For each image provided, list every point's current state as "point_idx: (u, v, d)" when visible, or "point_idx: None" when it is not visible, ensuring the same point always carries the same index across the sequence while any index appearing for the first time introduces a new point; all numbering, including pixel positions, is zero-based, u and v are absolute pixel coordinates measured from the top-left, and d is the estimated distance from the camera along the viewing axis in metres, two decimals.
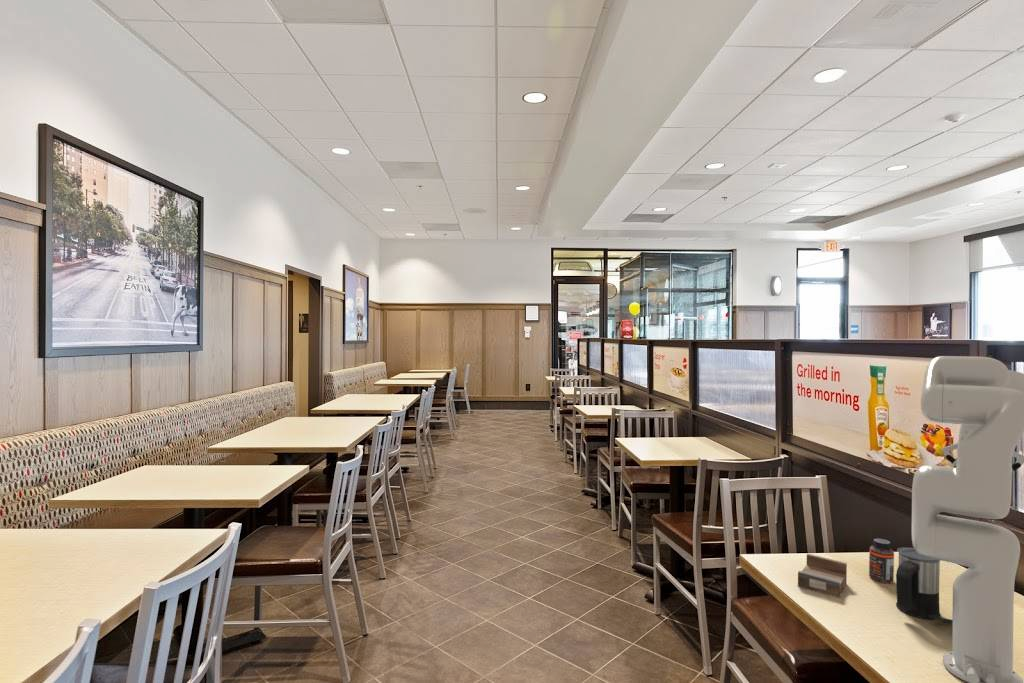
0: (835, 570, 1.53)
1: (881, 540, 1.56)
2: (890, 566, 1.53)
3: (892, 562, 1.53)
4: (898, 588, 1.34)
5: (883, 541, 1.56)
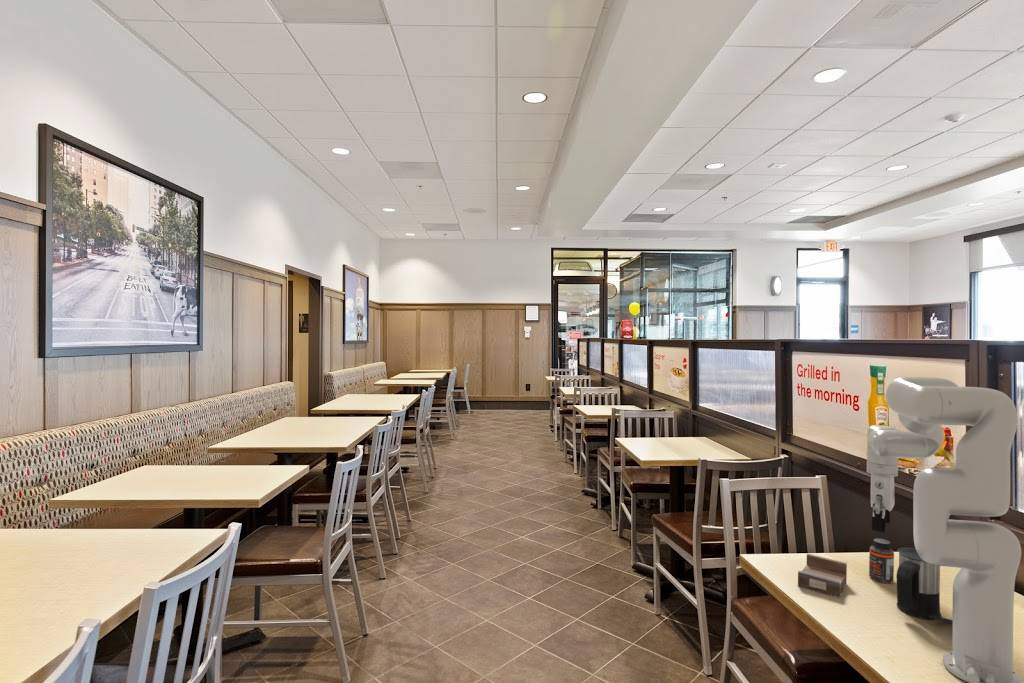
0: (835, 570, 1.53)
1: (881, 540, 1.56)
2: (890, 566, 1.53)
3: (892, 562, 1.53)
4: (898, 588, 1.34)
5: (883, 541, 1.56)
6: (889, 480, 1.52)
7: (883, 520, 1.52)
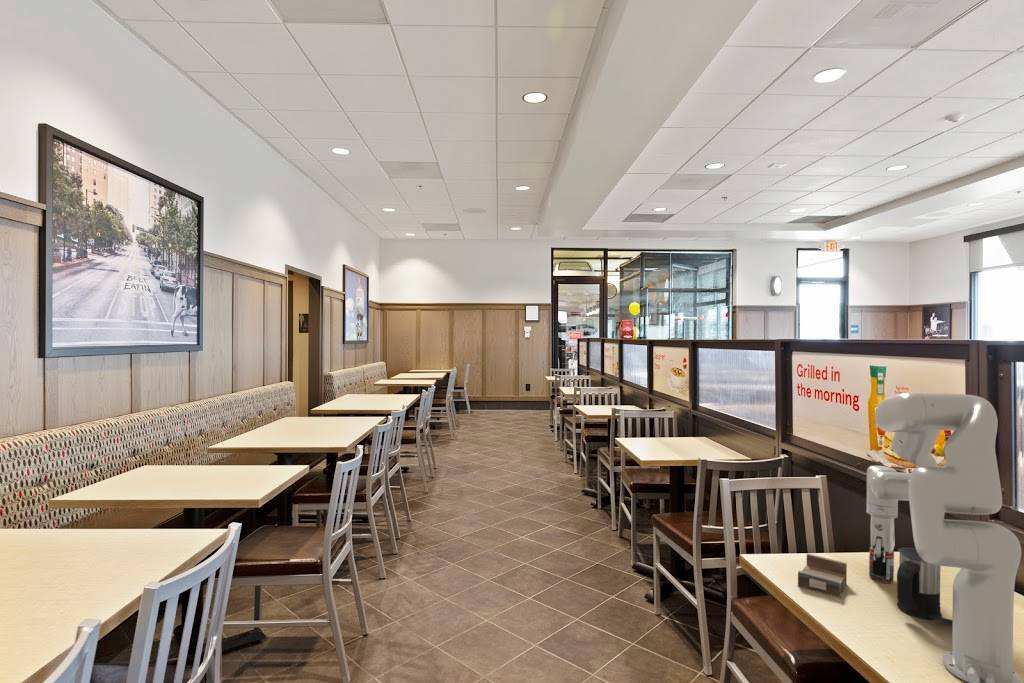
0: (835, 570, 1.53)
1: None
2: (890, 566, 1.53)
3: (892, 562, 1.53)
4: (899, 588, 1.34)
5: None
6: (889, 522, 1.51)
7: (884, 564, 1.52)
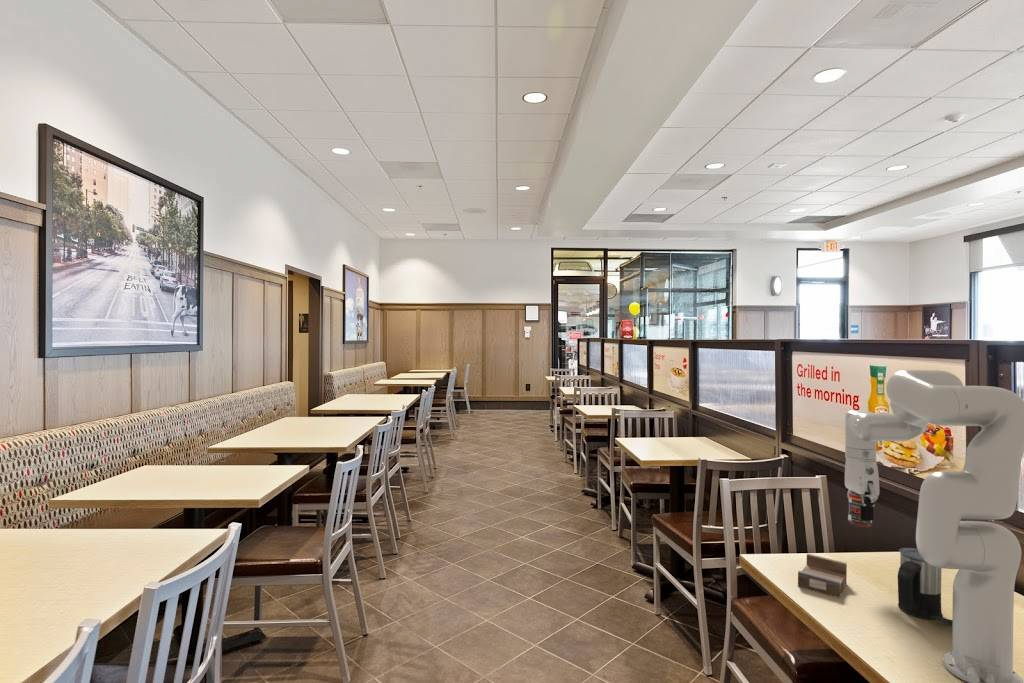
0: (835, 570, 1.53)
1: None
2: None
3: None
4: (899, 588, 1.34)
5: None
6: (876, 464, 1.50)
7: None
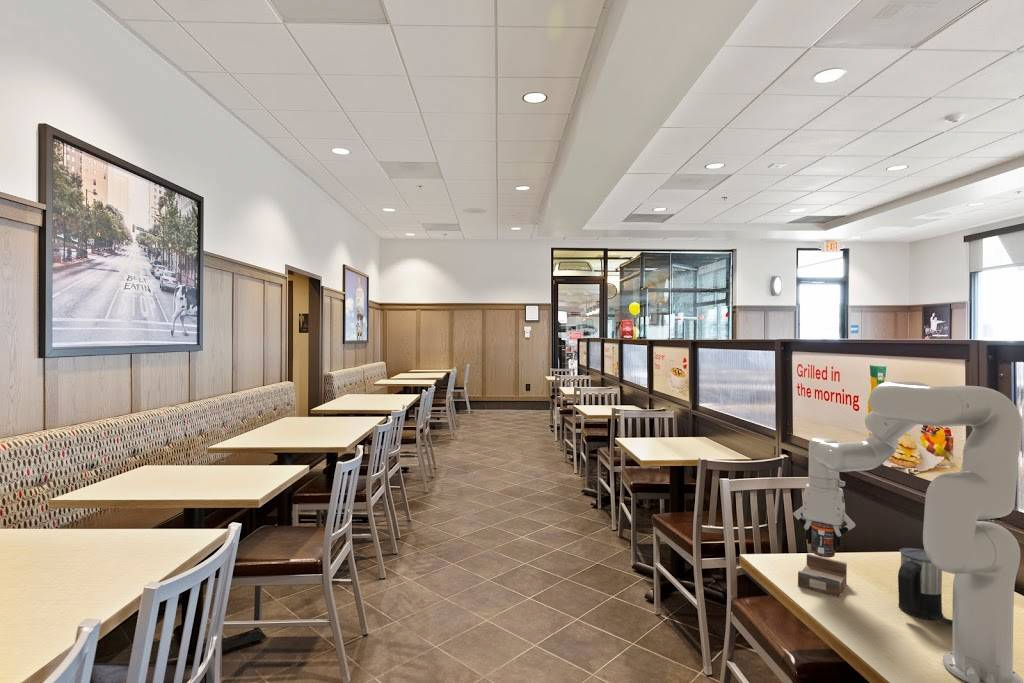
0: (835, 570, 1.53)
1: None
2: None
3: None
4: (900, 588, 1.34)
5: None
6: None
7: None
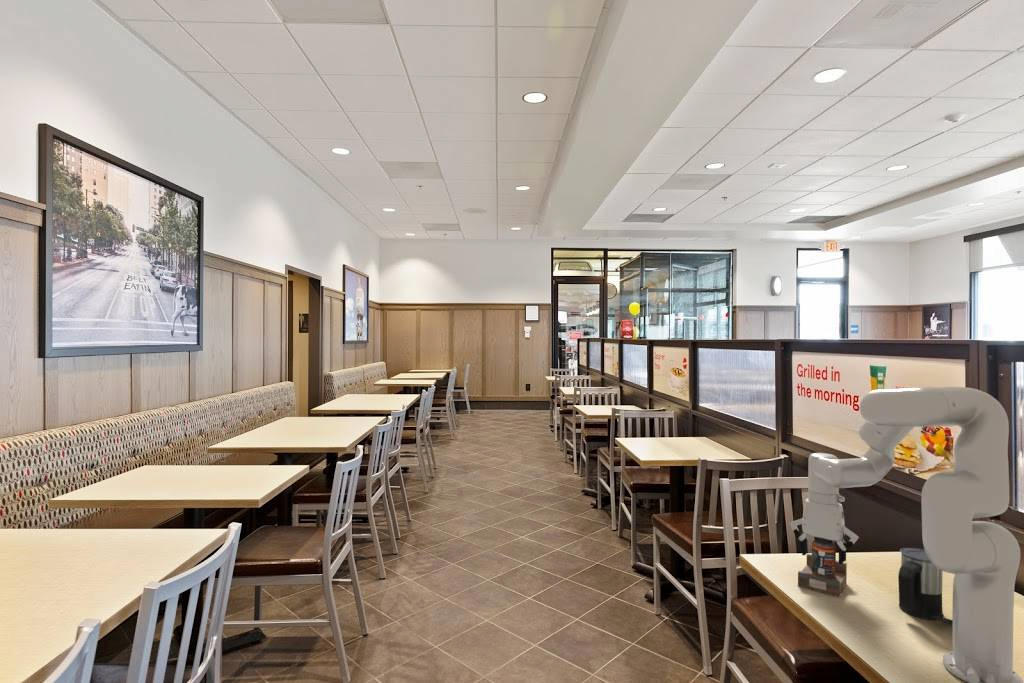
0: (835, 570, 1.53)
1: None
2: None
3: None
4: (900, 588, 1.34)
5: None
6: None
7: None
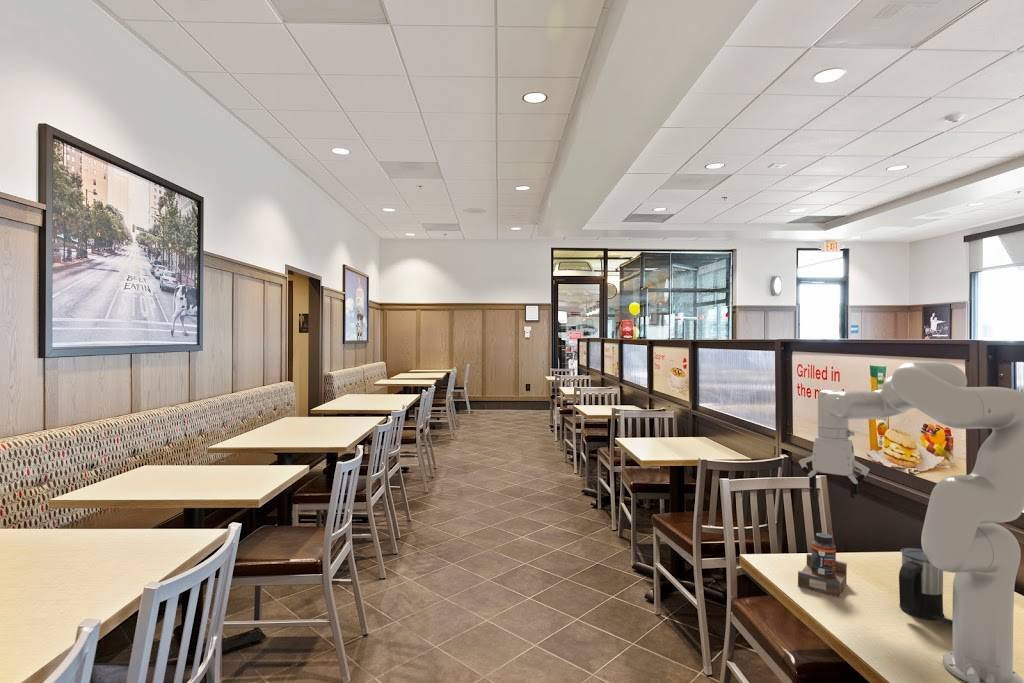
0: (835, 570, 1.53)
1: (824, 535, 1.51)
2: None
3: None
4: (901, 588, 1.33)
5: (824, 534, 1.52)
6: None
7: None
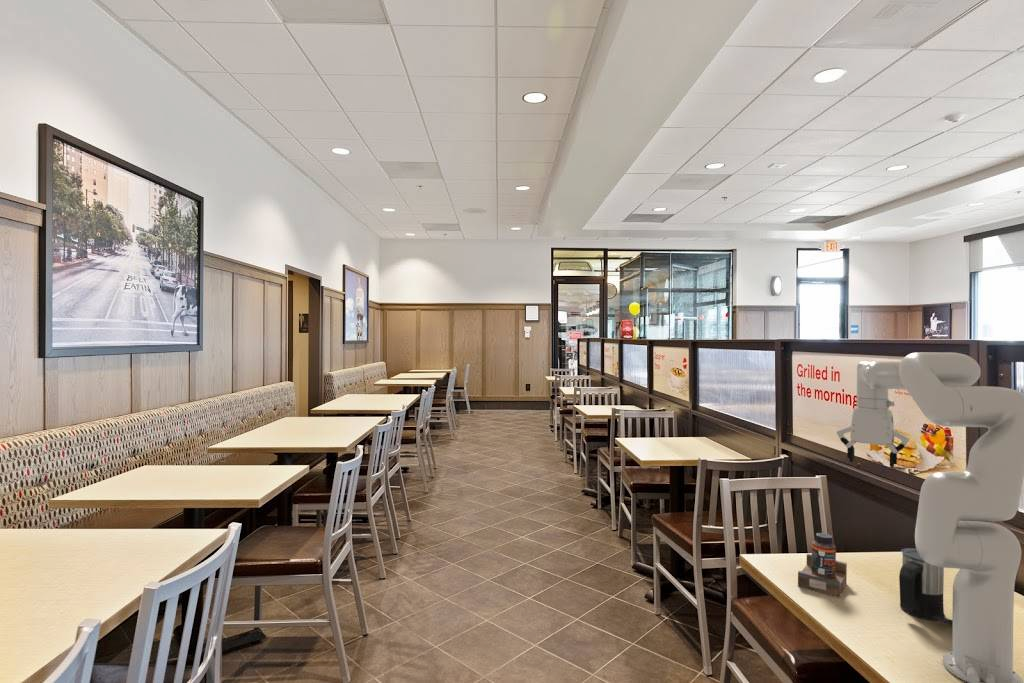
0: (835, 570, 1.53)
1: (824, 535, 1.51)
2: None
3: None
4: (901, 589, 1.33)
5: (824, 534, 1.52)
6: None
7: None
